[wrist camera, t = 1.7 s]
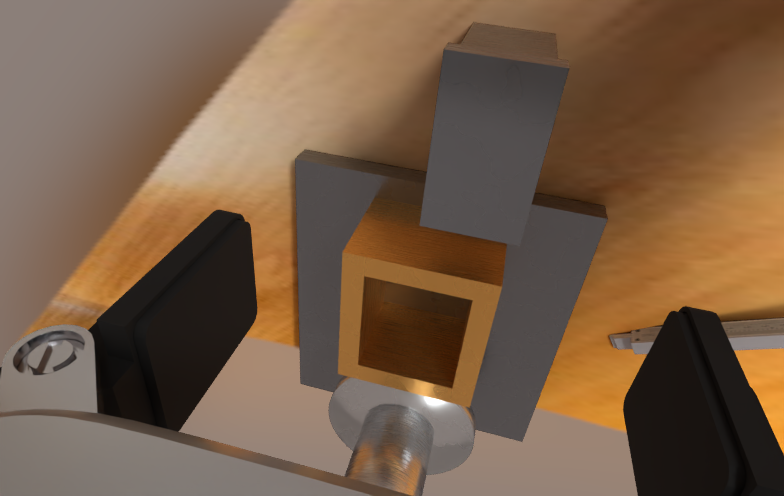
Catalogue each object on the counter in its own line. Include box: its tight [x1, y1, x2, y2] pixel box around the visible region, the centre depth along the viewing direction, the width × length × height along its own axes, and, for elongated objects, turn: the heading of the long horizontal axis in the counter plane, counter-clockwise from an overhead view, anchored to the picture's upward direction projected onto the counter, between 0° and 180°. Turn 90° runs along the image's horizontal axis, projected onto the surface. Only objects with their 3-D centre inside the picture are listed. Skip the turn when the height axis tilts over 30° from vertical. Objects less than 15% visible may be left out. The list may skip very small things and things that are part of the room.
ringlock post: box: [295, 150, 608, 496], centre depth 28 cm, size 21×18×20 cm
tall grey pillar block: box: [419, 23, 569, 246], centre depth 22 cm, size 7×4×10 cm, turn 175°
